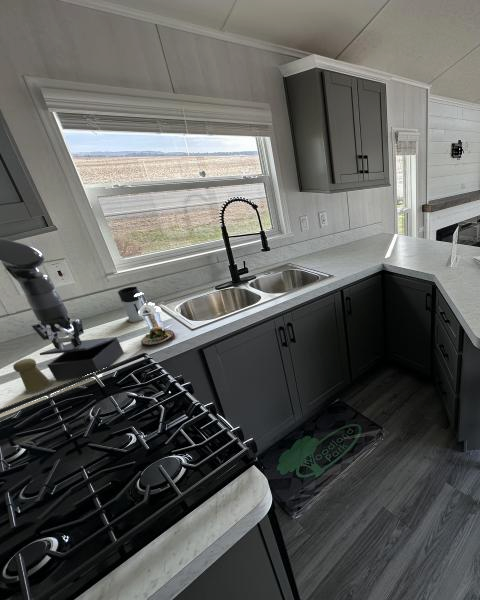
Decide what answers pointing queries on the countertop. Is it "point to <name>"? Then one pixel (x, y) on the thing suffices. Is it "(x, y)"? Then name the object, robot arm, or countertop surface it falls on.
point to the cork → (31, 375)
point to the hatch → (70, 347)
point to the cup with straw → (150, 313)
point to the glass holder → (131, 302)
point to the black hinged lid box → (85, 361)
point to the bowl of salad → (157, 336)
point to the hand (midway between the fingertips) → (69, 346)
